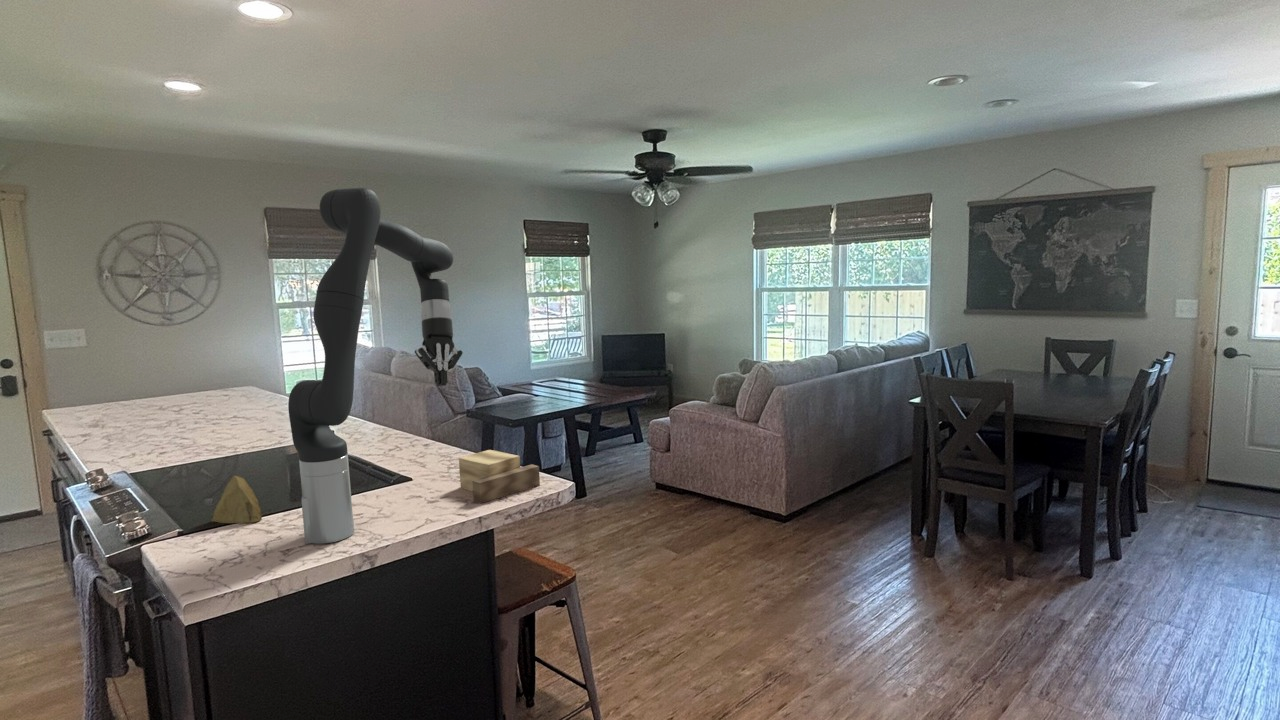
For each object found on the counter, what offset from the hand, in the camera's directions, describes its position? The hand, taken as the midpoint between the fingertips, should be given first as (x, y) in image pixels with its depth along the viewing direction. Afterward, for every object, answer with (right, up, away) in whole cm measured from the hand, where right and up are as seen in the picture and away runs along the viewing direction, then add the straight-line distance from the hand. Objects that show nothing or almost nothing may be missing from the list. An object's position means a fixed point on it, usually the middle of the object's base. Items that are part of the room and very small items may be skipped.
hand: (441, 386), depth 170 cm
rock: (-41, -30, -17) cm, 54 cm away
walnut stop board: (+17, -27, -2) cm, 32 cm away
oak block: (+12, -26, +4) cm, 29 cm away
